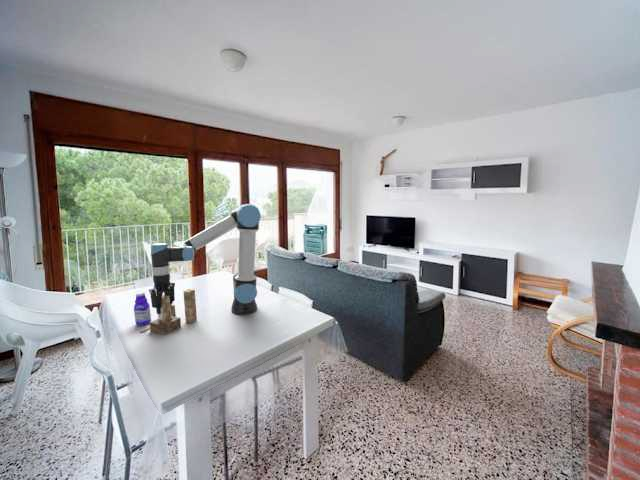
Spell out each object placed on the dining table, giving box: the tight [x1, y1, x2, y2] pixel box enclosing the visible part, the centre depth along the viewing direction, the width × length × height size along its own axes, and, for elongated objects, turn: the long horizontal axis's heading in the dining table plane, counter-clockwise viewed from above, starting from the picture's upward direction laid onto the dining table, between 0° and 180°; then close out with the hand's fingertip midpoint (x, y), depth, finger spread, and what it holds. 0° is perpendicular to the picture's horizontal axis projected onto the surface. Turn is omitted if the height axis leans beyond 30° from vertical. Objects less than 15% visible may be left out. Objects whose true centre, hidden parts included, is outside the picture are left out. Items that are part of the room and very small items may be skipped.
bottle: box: [133, 291, 152, 326], centre depth 154 cm, size 7×6×17 cm
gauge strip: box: [139, 326, 150, 334], centre depth 152 cm, size 15×2×1 cm, turn 158°
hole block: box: [149, 316, 182, 336], centre depth 149 cm, size 10×10×5 cm
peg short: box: [171, 304, 177, 317], centre depth 164 cm, size 4×4×7 cm
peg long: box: [183, 288, 198, 324], centre depth 157 cm, size 4×4×18 cm
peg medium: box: [159, 294, 171, 323], centre depth 147 cm, size 4×4×15 cm
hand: (164, 317), depth 148 cm, fingers closed on peg medium, 4 cm apart
